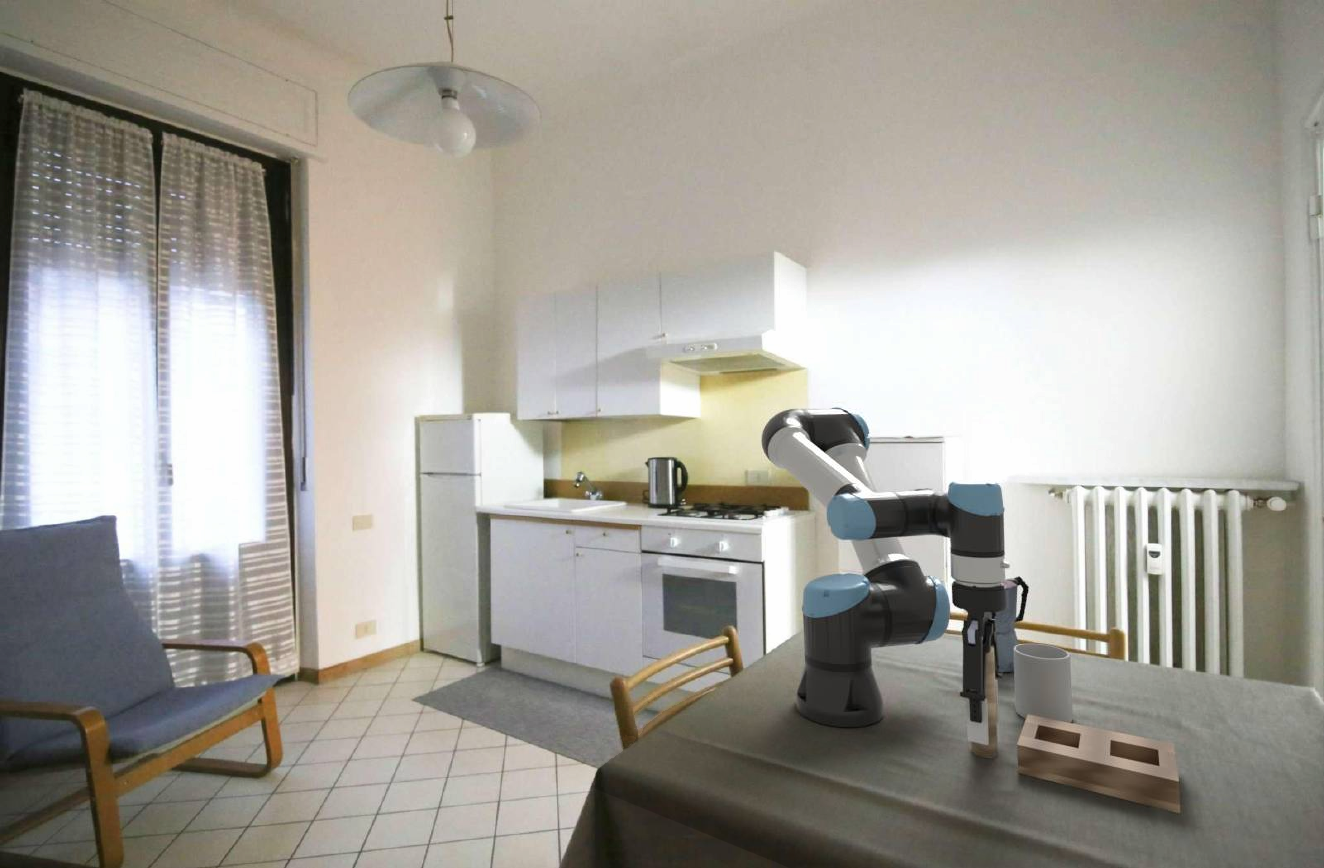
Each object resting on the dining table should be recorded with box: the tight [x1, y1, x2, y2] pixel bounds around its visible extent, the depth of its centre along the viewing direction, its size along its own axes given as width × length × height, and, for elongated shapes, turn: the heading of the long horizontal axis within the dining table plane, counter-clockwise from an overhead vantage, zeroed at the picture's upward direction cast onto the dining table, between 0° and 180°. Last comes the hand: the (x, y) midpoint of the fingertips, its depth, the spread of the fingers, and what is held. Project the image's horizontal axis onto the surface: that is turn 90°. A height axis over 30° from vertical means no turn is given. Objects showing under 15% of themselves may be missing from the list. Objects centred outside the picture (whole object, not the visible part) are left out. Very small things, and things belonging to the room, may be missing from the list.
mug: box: [1013, 643, 1074, 723], centre depth 111 cm, size 12×8×11 cm
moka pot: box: [996, 576, 1030, 673], centre depth 133 cm, size 10×15×20 cm, turn 107°
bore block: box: [1016, 714, 1181, 814], centre depth 90 cm, size 18×12×4 cm, turn 54°
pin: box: [970, 646, 999, 759], centre depth 97 cm, size 4×4×16 cm
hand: (983, 730), depth 97 cm, fingers open, 8 cm apart
